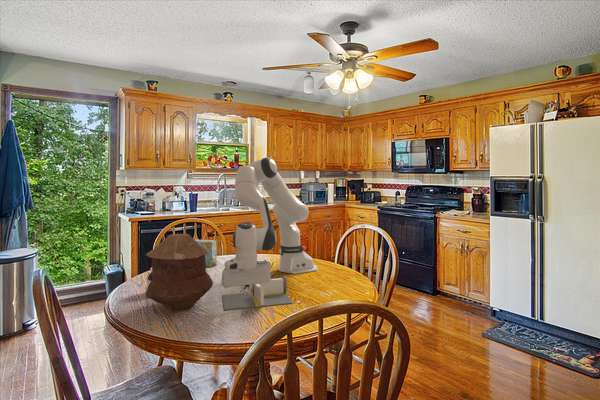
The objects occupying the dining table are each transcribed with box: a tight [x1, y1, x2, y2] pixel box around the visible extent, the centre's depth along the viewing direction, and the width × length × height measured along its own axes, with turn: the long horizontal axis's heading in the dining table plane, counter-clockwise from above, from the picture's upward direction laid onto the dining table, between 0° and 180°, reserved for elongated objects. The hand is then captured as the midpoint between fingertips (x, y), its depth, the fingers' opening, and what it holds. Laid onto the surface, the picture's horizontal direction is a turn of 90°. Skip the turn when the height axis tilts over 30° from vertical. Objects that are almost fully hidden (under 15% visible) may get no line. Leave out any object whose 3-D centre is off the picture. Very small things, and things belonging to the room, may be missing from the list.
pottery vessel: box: [145, 233, 214, 312], centre depth 144 cm, size 26×26×30 cm
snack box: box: [193, 238, 218, 268], centre depth 210 cm, size 21×6×15 cm, turn 71°
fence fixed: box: [252, 275, 287, 296], centre depth 158 cm, size 15×2×7 cm, turn 106°
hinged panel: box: [254, 284, 264, 305], centre depth 150 cm, size 12×2×6 cm, turn 21°
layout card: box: [221, 291, 293, 311], centre depth 153 cm, size 28×18×1 cm, turn 106°
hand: (246, 294), depth 146 cm, fingers closed
